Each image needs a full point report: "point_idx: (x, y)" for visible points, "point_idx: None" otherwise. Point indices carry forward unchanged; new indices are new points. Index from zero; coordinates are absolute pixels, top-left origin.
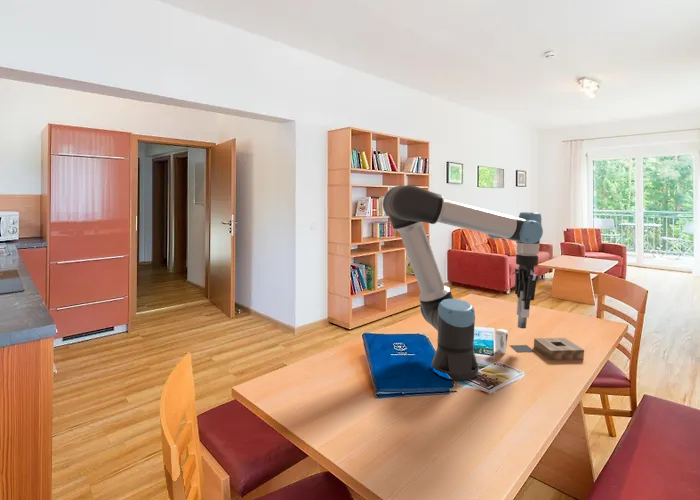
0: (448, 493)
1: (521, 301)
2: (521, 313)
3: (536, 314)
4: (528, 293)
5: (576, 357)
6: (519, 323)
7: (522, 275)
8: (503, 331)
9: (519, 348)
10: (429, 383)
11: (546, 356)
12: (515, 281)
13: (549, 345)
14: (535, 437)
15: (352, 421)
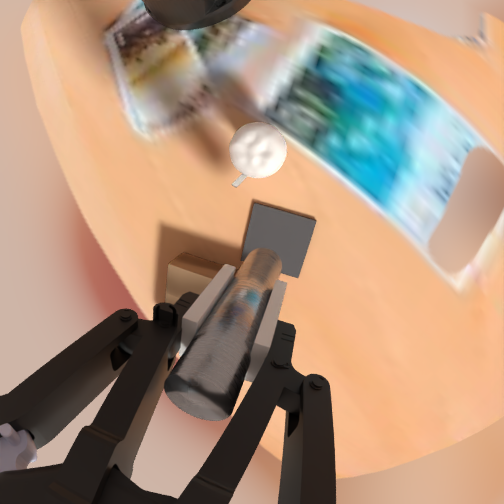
0: None
1: (213, 320)
2: (223, 274)
3: (438, 429)
4: (85, 336)
5: None
6: (255, 255)
7: (91, 498)
8: (235, 144)
9: (280, 234)
10: None
11: (199, 260)
12: (331, 474)
13: (202, 291)
14: (33, 67)
15: None
